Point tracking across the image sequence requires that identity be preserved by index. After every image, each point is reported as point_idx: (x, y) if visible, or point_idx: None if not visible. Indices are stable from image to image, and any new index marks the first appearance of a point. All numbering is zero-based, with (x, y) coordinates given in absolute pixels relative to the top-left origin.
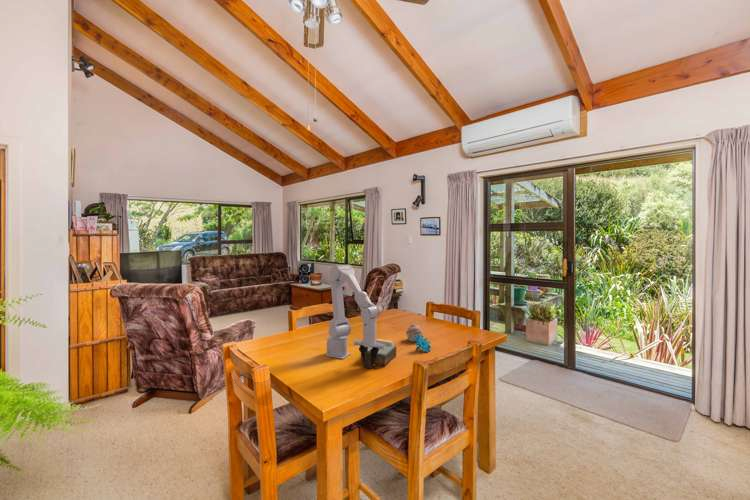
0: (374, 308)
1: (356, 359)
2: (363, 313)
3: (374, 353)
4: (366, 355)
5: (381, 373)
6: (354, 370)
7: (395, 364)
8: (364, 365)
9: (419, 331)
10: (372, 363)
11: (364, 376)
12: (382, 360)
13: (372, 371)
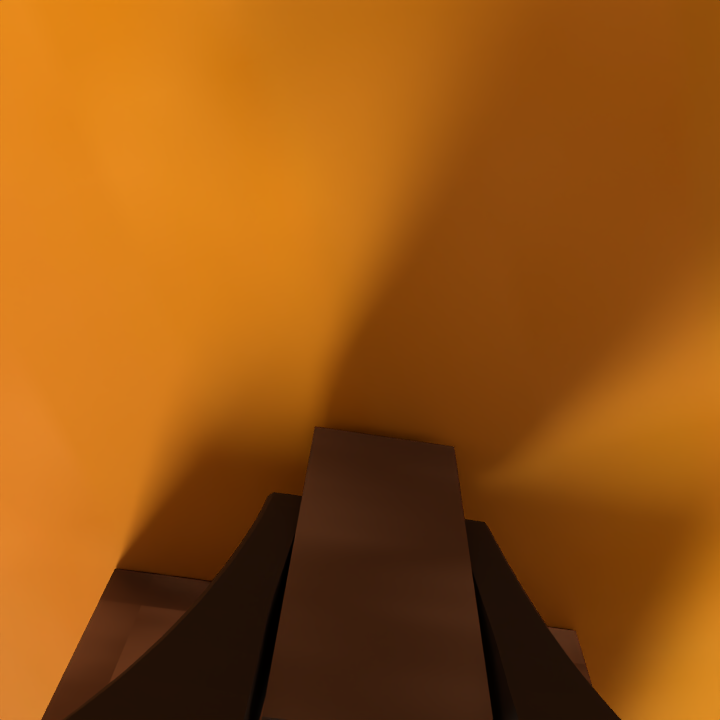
0: None
1: (665, 704)
2: None
3: (73, 717)
4: (425, 666)
5: (39, 296)
6: (643, 287)
7: (3, 669)
8: (456, 469)
9: None
10: (265, 506)
11: (334, 14)
12: (125, 667)
13: (250, 340)
